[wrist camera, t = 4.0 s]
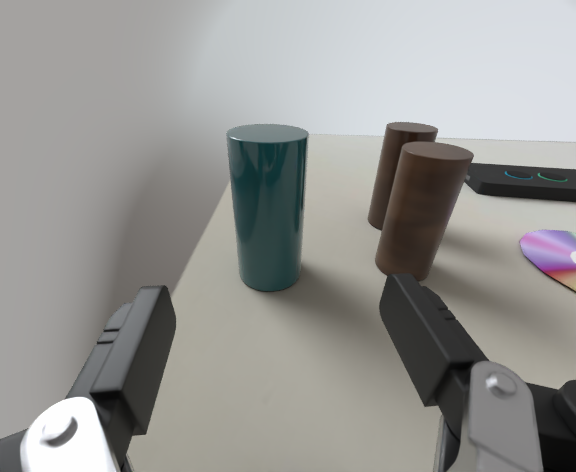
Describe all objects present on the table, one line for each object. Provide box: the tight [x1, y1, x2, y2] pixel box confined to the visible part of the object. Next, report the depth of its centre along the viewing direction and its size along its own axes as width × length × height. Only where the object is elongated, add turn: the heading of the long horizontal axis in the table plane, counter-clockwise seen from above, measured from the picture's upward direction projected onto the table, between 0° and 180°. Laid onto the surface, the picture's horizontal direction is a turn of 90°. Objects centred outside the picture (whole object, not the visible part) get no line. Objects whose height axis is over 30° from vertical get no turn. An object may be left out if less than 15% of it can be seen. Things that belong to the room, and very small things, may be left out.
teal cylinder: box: [226, 124, 309, 291], centre depth 18 cm, size 5×5×10 cm
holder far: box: [368, 122, 438, 230], centre depth 25 cm, size 4×4×9 cm
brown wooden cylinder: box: [375, 142, 474, 281], centre depth 19 cm, size 4×4×9 cm
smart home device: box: [464, 163, 576, 202], centre depth 36 cm, size 8×2×20 cm
